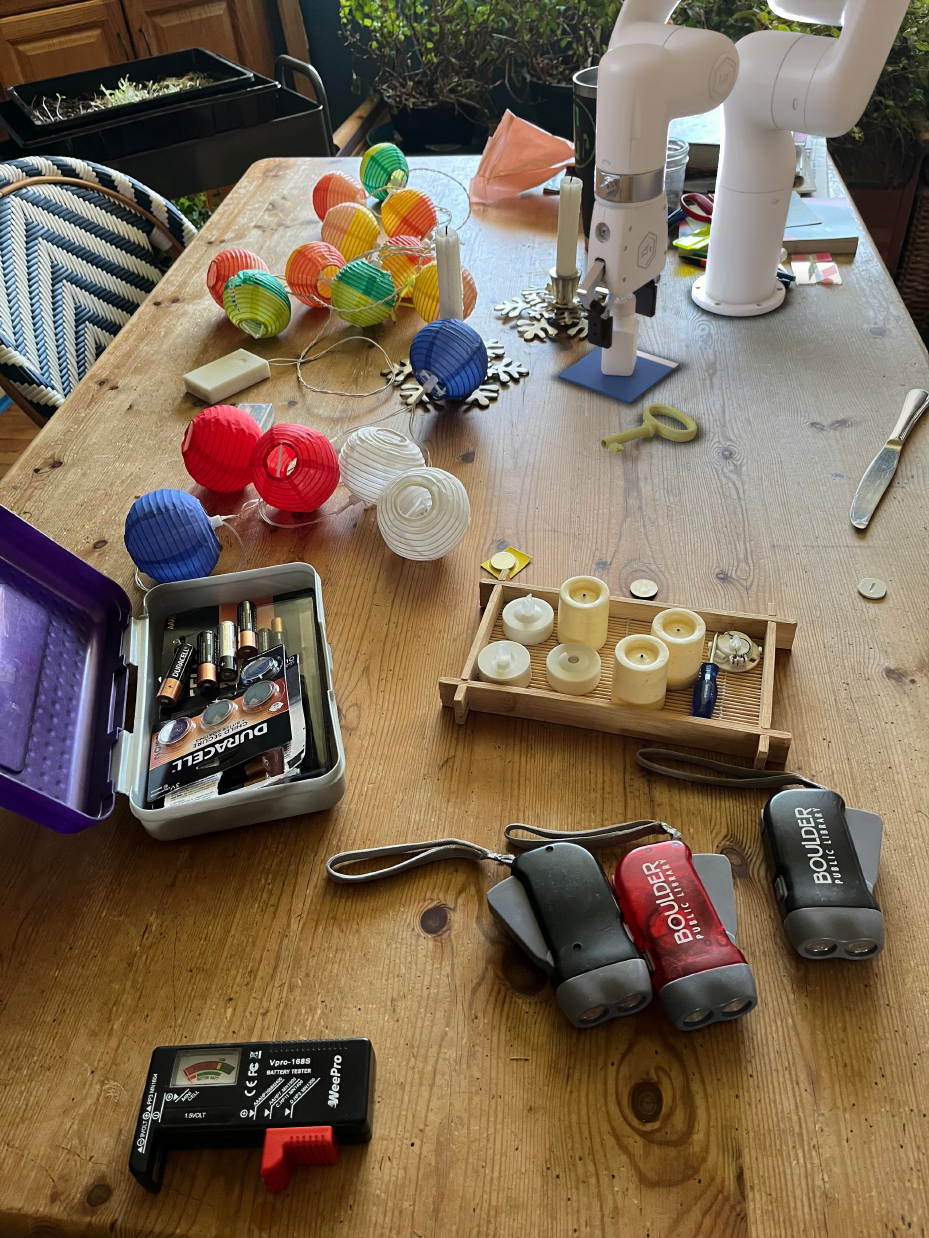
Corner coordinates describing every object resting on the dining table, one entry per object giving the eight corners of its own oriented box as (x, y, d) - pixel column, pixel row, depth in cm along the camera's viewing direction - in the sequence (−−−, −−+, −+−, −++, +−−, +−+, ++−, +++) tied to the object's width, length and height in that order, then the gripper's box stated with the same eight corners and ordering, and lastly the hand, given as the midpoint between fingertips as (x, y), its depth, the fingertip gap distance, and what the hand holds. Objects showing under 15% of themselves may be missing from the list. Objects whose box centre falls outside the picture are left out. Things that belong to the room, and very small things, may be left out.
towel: (608, 342, 116) (608, 339, 116) (679, 366, 110) (679, 363, 110) (558, 378, 111) (558, 375, 110) (630, 404, 105) (630, 401, 105)
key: (596, 456, 98) (596, 440, 97) (654, 407, 104) (656, 391, 103) (650, 478, 95) (652, 462, 93) (708, 426, 101) (710, 410, 99)
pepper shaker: (605, 360, 112) (608, 289, 105) (636, 362, 111) (641, 290, 104) (600, 376, 109) (603, 304, 103) (632, 378, 108) (637, 306, 102)
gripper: (611, 215, 88) (605, 368, 100) (702, 161, 96) (686, 309, 109) (553, 201, 92) (554, 350, 104) (645, 150, 100) (636, 294, 113)
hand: (621, 329), depth 106 cm, fingers open, 8 cm apart
